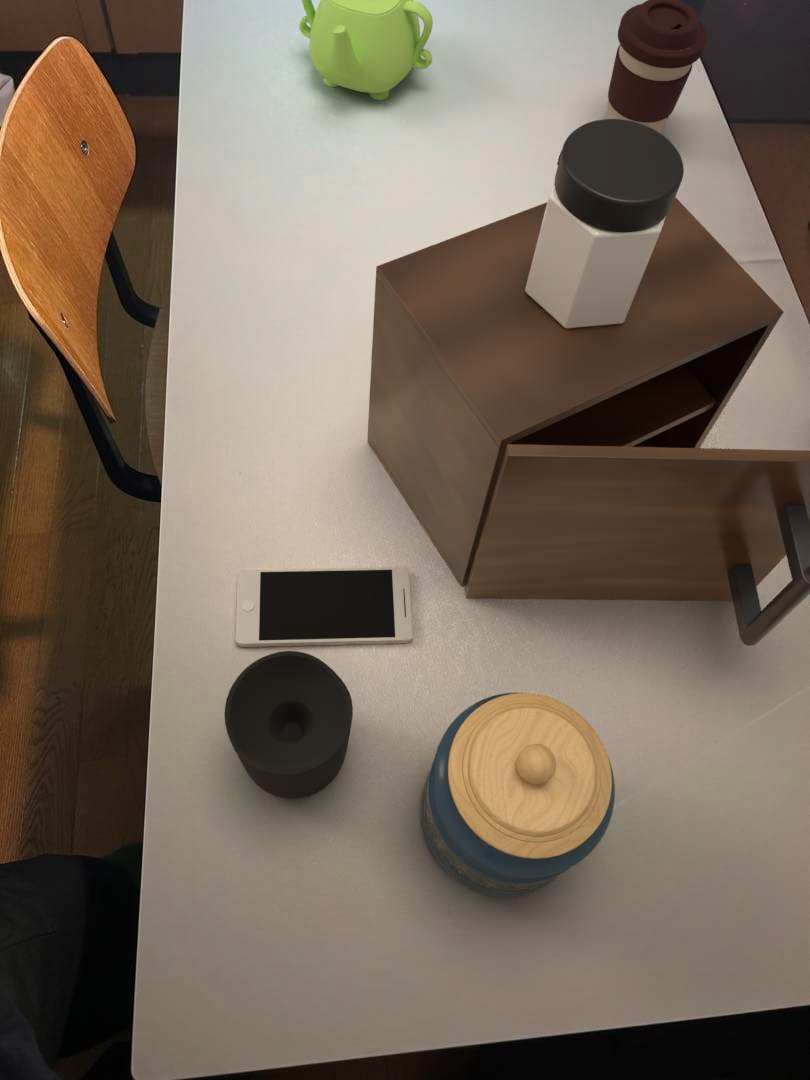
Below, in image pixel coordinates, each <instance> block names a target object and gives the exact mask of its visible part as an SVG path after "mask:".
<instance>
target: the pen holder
mask: <svg viewBox="0 0 810 1080" xmlns="http://www.w3.org/2000/svg"><path fill="white" fill-rule="evenodd" d="M353 709H354V706H353V700H352V697H351V693H350V691H349V689H348V687H347V685H346V684H345V682H344V681H343V679H342V678H341V677H340V676H339V675H338V673H337V672H335V671H334V670H333V669H332V668H331V667H330V666H329V665H328V664H326V663H325V662H324V661H323V660H321V659H320V658H318V657H316V656H314V655H313V654H310V653H307V652H303V651H298V650H284V651H277V652H273V653H270V654H267V655H265V656H262V657H260V658H258V659H257V660H254V661H253V662H252V663H250V664H249V665H248V666H246V667H245V669H244V670H243V671H241V672H240V674H239V675H238V676H237V677H236V679H235V681H233V683H232V686H231V687H230V689H229V691H228V694H227V697H226V701H225V705H224V724H225V725H224V726H225V730H226V733H227V735H228V739H229V741H230V743H231V745H232V747H233V749H234V751H235V754H236V755H237V757H238V759H239V761H240V762H241V764H242V766H243V768H244V769H245V771H246V773H247V774H248V776H249V777H250V778H251V780H252V781H253V782H254V783H255V784H256V785H257V786H258V787H259V788H260V789H261V790H263V791H265V793H268V794H270V795H273V796H275V797H279V798H284V799H299V798H300V799H301V798H305V797H309V796H311V795H314V794H316V793H318V792H320V791H322V790H323V789H324V788H326V787H327V786H328V785H329V784H330V783H332V781H333V780H334V779H335V778H336V776H337V775H338V774H339V772H340V770H341V769H342V767H343V764H344V762H345V758H346V754H347V751H348V747H349V741H350V735H351V729H352V723H353V714H354V710H353Z"/></svg>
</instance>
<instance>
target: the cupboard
mask: <svg viewBox="0 0 810 1080" xmlns="http://www.w3.org/2000/svg"><path fill="white" fill-rule="evenodd" d="M547 202H548V201H546V202H544V203H541V204H539V205H536V206H533V207H531V208H527V209H526V210H522V211H520V212H517V213H514V214H512V215H509V216H507V217H504V218H501V219H499V220H496V221H493V222H491V223H488V224H485V225H482V226H480V227H478V228H475V229H472V230H470V231H466V232H464V233H461V234H459V235H456V236H453V237H450V238H448V239H445V240H443V241H440V242H438V243H435V244H432V245H430V246H427V247H424V248H422V249H419V250H416V251H414V252H411V253H408V254H405V255H403V256H401V257H398V258H395V259H392V260H390V261H387V262H384V263H381V264H378V265H376V269H375V282H374V283H375V284H374V303H373V304H374V305H373V324H372V340H371V341H372V346H371V363H370V378H369V379H370V381H369V401H368V417H367V419H368V422H367V444H368V445H369V447H370V449H371V450H372V451H373V453H374V455H375V456H376V458H377V460H378V461H379V462H380V464H381V466H382V467H383V469H384V470H385V472H386V474H387V475H388V476H389V478H390V479H391V481H392V482H393V484H394V485H395V487H396V489H397V490H398V492H399V494H400V495H401V497H402V498H403V499H404V502H406V504H407V506H408V507H409V509H410V511H411V512H412V513H413V515H414V517H415V518H416V520H417V521H418V523H419V524H420V526H421V527H422V529H423V530H424V532H425V534H426V535H427V537H428V538H429V539H430V542H431V543H432V544H433V546H434V547H435V549H436V550H437V552H438V554H439V555H440V557H441V558H442V560H443V561H444V563H445V565H446V566H447V568H448V569H449V570H450V572H451V574H452V575H453V577H454V579H455V580H456V582H457V583H458V585H459V586H460V587H461V588H462V587H464V586H466V585H467V581H468V578H469V574H470V571H471V567H472V564H473V560H474V557H475V553H476V550H477V547H478V543H479V540H480V536H481V533H482V529H483V526H484V522H485V519H486V515H487V512H488V508H489V505H490V501H491V498H492V494H493V491H494V488H495V484H496V481H497V477H498V474H499V470H500V467H501V463H502V460H503V456H504V453H505V449H506V446H507V444H525V445H572V446H619V447H666V448H702V445H703V443H704V442H705V440H706V439H707V437H708V436H709V434H710V432H711V430H713V427H714V426H715V424H716V422H717V420H718V419H719V417H720V416H721V414H722V413H723V411H724V409H725V408H726V406H727V404H728V403H729V402H730V400H731V398H732V396H733V395H734V393H735V392H736V390H737V388H738V387H739V385H740V383H741V382H742V381H743V379H744V377H745V375H746V374H747V372H748V370H749V369H750V367H751V366H752V364H753V363H754V361H755V359H756V358H757V356H758V355H759V353H760V351H761V350H762V348H763V346H764V344H765V343H766V341H767V340H768V338H769V337H770V335H771V333H772V332H773V331H774V328H775V327H776V325H777V324H778V322H779V320H781V317H782V316H783V314H784V310H783V309H782V308H781V307H780V306H779V305H778V304H777V303H776V302H775V301H774V300H773V298H771V297H770V295H768V293H767V292H766V291H765V290H764V289H763V288H762V287H761V285H759V283H757V282H756V280H754V279H753V278H752V276H751V275H750V274H749V273H748V272H747V271H746V270H745V269H744V268H743V267H742V266H741V264H739V262H737V260H736V259H735V258H734V257H733V256H732V255H731V254H730V253H729V252H728V251H727V250H726V249H725V248H724V247H723V245H721V243H720V242H719V241H718V240H717V239H716V238H715V237H714V236H713V235H712V234H711V233H710V232H709V231H708V230H707V228H705V226H704V225H702V223H701V222H700V221H699V220H698V219H697V217H695V216H694V215H693V213H691V212H690V210H689V209H688V208H686V206H685V205H684V204H683V203H682V202H681V201H680V200H679V199H678V198H677V197H676V196H675V199H674V201H673V204H672V206H671V209H670V211H669V213H668V214H667V215H666V218H665V221H664V224H663V227H662V230H661V232H660V235H659V237H658V240H657V242H656V245H655V247H654V250H653V252H652V254H651V257H650V259H649V262H648V264H647V267H646V269H645V272H644V274H643V277H642V279H641V282H640V284H639V287H638V289H637V291H636V294H635V296H634V299H633V301H632V304H631V306H630V309H629V311H628V314H627V316H626V319H625V321H624V322H623V323H622V324H612V325H601V326H590V327H578V328H564V327H563V326H562V325H561V324H560V323H559V322H558V321H557V320H556V319H555V318H553V317H552V316H551V315H550V314H549V313H548V312H547V311H546V310H545V309H544V308H542V307H541V306H540V305H539V304H538V303H537V302H536V301H535V300H534V299H532V298H531V297H530V296H529V295H528V294H527V293H526V292H525V288H526V284H527V280H528V276H529V272H530V268H531V265H532V261H533V257H534V253H535V249H536V245H537V241H538V237H539V233H540V229H541V225H542V221H543V217H544V214H545V210H546V206H547Z"/></svg>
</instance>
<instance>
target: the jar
mask: <svg viewBox="0 0 810 1080" xmlns="http://www.w3.org/2000/svg"><path fill="white" fill-rule="evenodd" d="M557 160H558V161H557V164H556V165H557V168H556V171H555V176H554V183H553V185H552V188H551V190H550V193H549V195H548V198H547V201H546V202H547V206H546V210H545V214H544V217H543V221H542V225H541V229H540V233H539V237H538V241H537V245H536V249H535V253H534V257H533V261H532V265H531V268H530V272H529V276H528V280H527V284H526V288H525V292H526V293H527V294H528V295H529V296H530V297H531V298H532V299H534V300H535V301H536V302H537V303H538V304H539V305H540V306H541V307H542V308H544V309H545V310H546V311H547V312H548V313H549V314H550V315H551V316H552V317H553V318H555V319H556V320H557V321H558V322H559V323H560V324H561V325H562V326H563V327H564V328H578V327H590V326H601V325H612V324H622V323H623V322H624V321H625V319H626V316H627V314H628V311H629V309H630V306H631V304H632V301H633V299H634V296H635V294H636V291H637V289H638V287H639V284H640V282H641V279H642V277H643V274H644V272H645V269H646V267H647V264H648V262H649V259H650V257H651V254H652V252H653V250H654V247H655V245H656V242H657V240H658V237H659V235H660V232H661V230H662V227H663V224H664V221H665V218H666V215H667V214H668V213H669V211H670V209H671V206H672V204H673V201H674V199H675V197H676V196H677V194H678V191H679V189H680V186H681V185H682V182H683V178H684V174H685V173H684V171H685V169H684V162H683V159H682V156H681V154H680V152H679V151H678V148H676V146H675V145H674V144H673V143H672V141H670V140H669V138H667V137H666V136H665V135H663V134H662V133H661V134H660V133H659V132H657V131H656V130H654V129H652V128H650V127H648V126H645V125H643V124H640V123H637V122H633V121H628V120H621V119H604V118H603V119H598V120H593V121H589V122H587V123H585V124H582V125H581V126H579V127H577V128H576V129H574V130H573V131H572V132H571V133H570V134H569V135H568V136H567V138H566V139H565V141H564V143H563V146H562V149H561V151H560V153H559V156H558V159H557Z"/></svg>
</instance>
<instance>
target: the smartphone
mask: <svg viewBox="0 0 810 1080" xmlns="http://www.w3.org/2000/svg"><path fill="white" fill-rule="evenodd" d="M236 582H237V584H236V585H237V587H236V614H235V615H236V616H235V644H236V646H238V647H240V648H260V647H263V648H264V647H265V648H266V647H302V646H340V645H341V646H342V645H343V646H344V645H345V646H346V645H347V646H348V645H386V644H408V643H411V642H412V641H413V637H414V635H413V634H414V633H413V615H412V601H411V600H412V599H411V584H410V583H411V582H410V570H409V568H407V567H404V566H393V567H392V566H391V567H390V566H389V567H337V568H335V567H334V568H333V567H331V568H330V567H329V568H328V567H327V568H282V569H281V568H279V569H278V568H277V569H273V568H272V569H242V570H239V571H238V572H237V581H236Z"/></svg>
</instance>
